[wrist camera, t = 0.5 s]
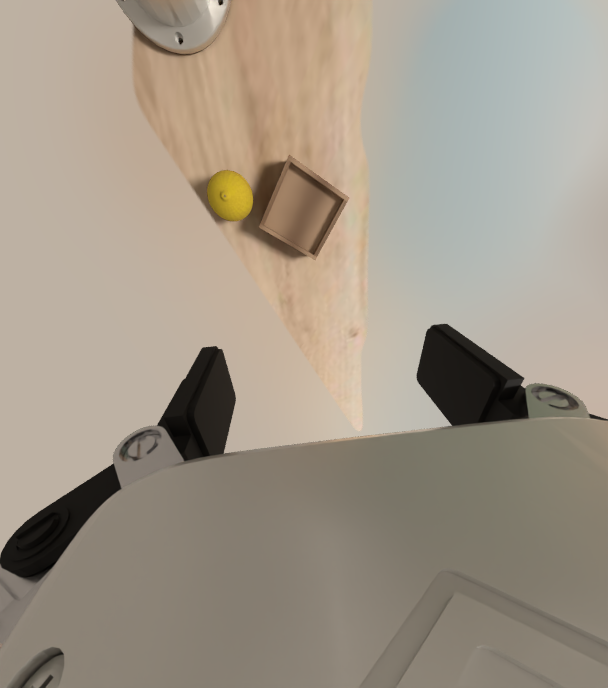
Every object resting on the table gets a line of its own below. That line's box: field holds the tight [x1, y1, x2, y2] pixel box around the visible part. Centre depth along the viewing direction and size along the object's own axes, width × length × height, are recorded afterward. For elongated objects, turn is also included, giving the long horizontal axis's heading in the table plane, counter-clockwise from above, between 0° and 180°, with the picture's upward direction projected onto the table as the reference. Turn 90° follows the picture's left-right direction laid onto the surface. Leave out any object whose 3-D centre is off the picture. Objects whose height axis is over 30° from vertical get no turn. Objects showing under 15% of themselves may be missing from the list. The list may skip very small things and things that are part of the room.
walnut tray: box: [259, 155, 349, 260], centre depth 33 cm, size 9×9×4 cm
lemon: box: [207, 170, 253, 221], centre depth 30 cm, size 6×6×8 cm
